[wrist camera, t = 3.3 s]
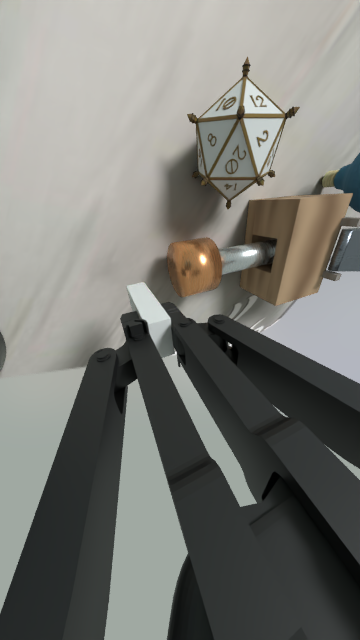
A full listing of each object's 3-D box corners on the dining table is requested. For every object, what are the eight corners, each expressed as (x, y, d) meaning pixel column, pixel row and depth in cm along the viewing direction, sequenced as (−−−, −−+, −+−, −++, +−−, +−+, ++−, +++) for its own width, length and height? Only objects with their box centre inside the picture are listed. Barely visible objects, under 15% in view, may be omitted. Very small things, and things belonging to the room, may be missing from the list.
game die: (203, 181, 25) (239, 239, 22) (153, 133, 18) (195, 207, 15) (267, 102, 19) (325, 165, 16) (229, -4, 13) (316, 68, 10)
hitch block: (239, 287, 31) (286, 312, 24) (249, 200, 24) (318, 198, 17) (278, 276, 33) (332, 296, 26) (296, 195, 27) (374, 192, 20)
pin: (169, 286, 25) (189, 305, 21) (164, 239, 22) (186, 248, 17) (263, 265, 30) (297, 276, 25) (271, 223, 27) (310, 226, 22)
